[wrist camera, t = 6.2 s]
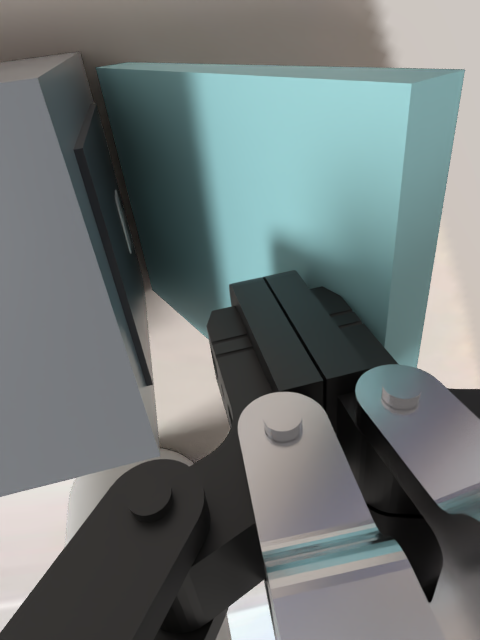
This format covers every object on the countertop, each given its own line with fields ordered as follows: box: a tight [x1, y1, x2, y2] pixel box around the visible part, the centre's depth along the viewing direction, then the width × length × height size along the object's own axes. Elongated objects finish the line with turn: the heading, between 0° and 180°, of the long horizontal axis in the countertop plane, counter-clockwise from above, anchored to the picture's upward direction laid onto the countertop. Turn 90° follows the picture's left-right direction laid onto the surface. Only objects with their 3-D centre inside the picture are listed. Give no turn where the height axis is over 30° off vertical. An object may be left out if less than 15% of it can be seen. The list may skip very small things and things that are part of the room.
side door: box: [96, 62, 465, 368], centre depth 14 cm, size 2×9×13 cm, turn 6°
